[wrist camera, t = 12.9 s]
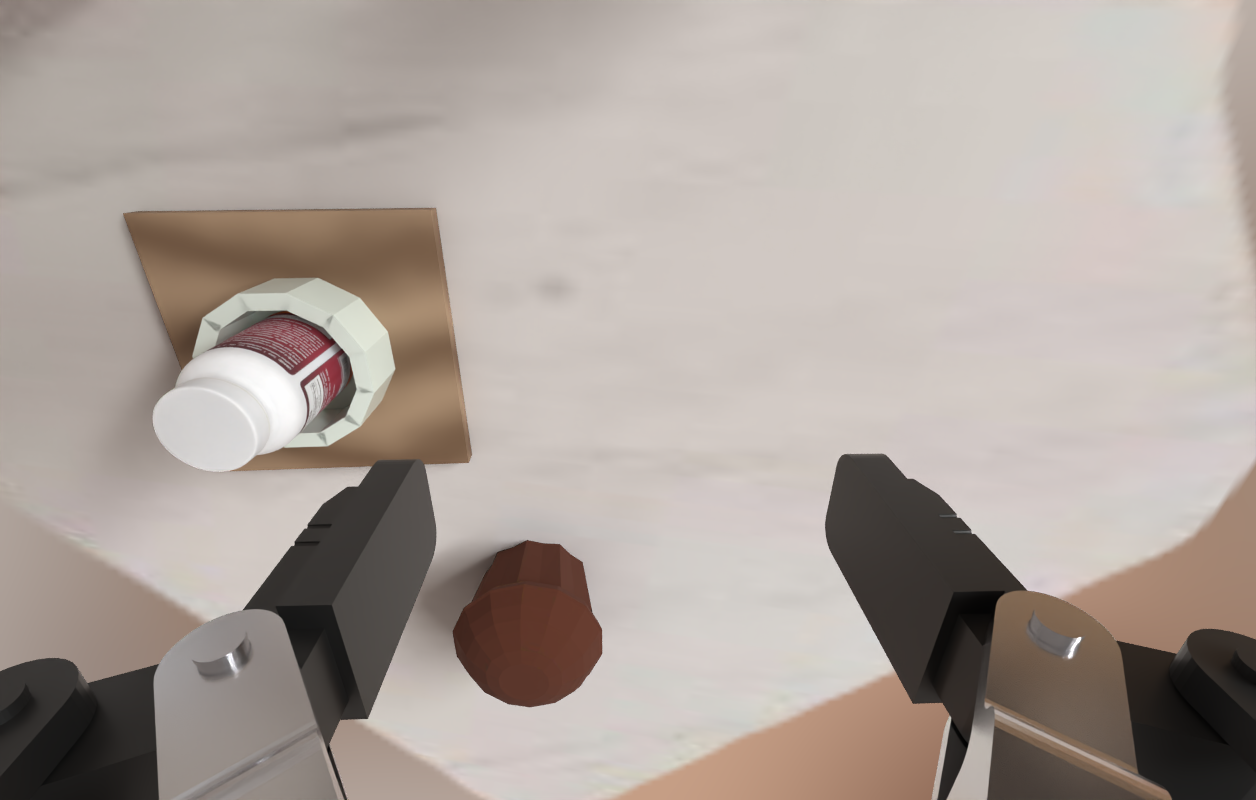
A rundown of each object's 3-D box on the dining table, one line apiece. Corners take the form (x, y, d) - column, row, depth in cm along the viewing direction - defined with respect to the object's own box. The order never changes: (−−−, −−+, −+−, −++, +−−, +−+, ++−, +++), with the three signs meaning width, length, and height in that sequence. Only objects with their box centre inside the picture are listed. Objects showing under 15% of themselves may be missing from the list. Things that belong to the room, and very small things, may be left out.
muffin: (445, 556, 46) (409, 656, 37) (562, 507, 45) (555, 599, 36) (514, 645, 51) (497, 753, 42) (622, 604, 49) (629, 706, 40)
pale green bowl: (214, 279, 34) (169, 295, 31) (377, 276, 35) (351, 291, 31) (260, 421, 38) (225, 449, 35) (404, 416, 39) (385, 444, 35)
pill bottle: (239, 330, 35) (99, 402, 25) (320, 290, 34) (209, 349, 24) (301, 408, 38) (197, 502, 28) (378, 373, 37) (299, 456, 27)
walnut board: (138, 211, 33) (123, 213, 32) (435, 207, 34) (430, 210, 33) (229, 462, 41) (220, 471, 40) (471, 454, 42) (468, 462, 41)
